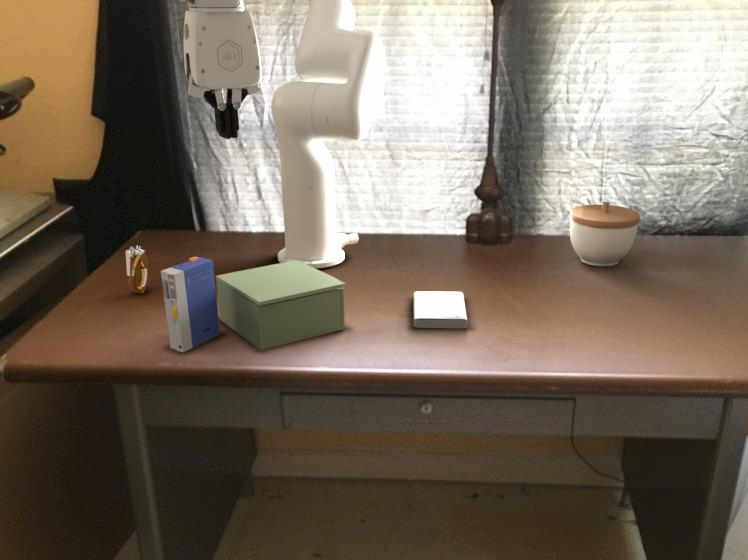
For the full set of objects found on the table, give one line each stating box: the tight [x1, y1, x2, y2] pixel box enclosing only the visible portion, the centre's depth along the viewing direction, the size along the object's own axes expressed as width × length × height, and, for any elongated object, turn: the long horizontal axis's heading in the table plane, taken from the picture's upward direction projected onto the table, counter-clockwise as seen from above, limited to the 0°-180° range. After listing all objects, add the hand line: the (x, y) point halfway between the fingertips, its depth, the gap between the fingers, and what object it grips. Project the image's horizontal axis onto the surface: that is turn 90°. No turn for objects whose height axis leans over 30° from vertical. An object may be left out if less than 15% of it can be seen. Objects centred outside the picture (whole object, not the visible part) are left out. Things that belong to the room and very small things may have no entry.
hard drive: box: [413, 290, 468, 329], centre depth 135 cm, size 2×8×12 cm
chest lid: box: [215, 260, 347, 306], centre depth 127 cm, size 15×14×1 cm
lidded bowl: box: [569, 201, 641, 267], centre depth 158 cm, size 13×13×11 cm
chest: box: [215, 279, 346, 351], centre depth 129 cm, size 14×14×7 cm
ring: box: [125, 244, 150, 294], centre depth 141 cm, size 7×3×8 cm, turn 172°
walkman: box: [160, 256, 221, 353], centre depth 122 cm, size 8×3×12 cm, turn 148°
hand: (228, 136), depth 125 cm, fingers closed
